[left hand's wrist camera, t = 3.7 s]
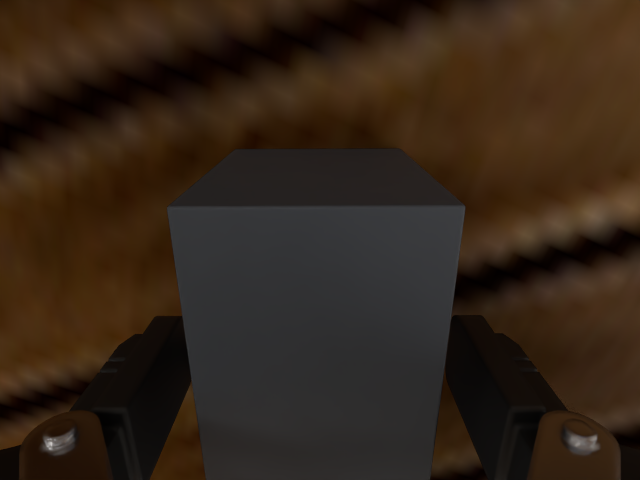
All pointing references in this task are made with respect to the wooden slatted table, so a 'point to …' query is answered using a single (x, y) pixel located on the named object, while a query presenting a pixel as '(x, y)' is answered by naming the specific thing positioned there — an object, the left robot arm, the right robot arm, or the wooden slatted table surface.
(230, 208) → the bar
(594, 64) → the wooden slatted table surface
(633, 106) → the wooden slatted table surface
